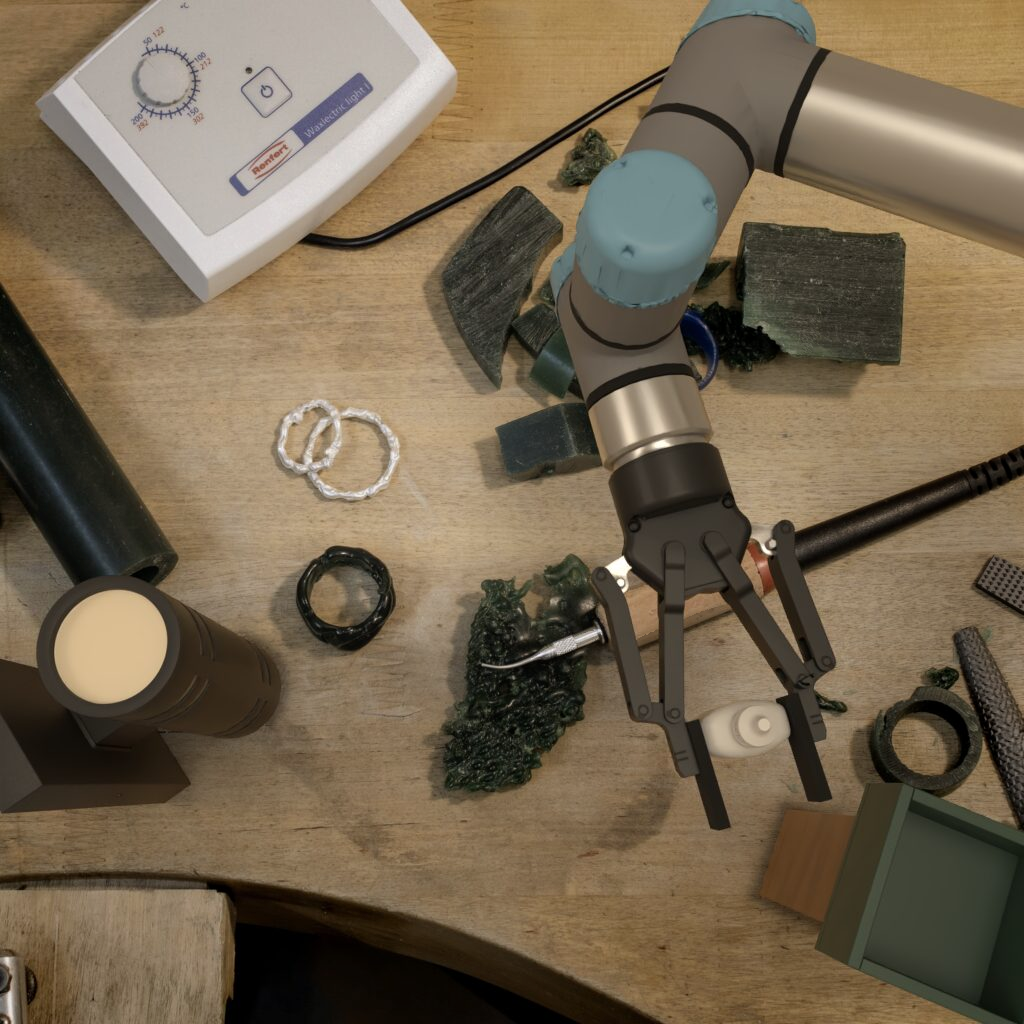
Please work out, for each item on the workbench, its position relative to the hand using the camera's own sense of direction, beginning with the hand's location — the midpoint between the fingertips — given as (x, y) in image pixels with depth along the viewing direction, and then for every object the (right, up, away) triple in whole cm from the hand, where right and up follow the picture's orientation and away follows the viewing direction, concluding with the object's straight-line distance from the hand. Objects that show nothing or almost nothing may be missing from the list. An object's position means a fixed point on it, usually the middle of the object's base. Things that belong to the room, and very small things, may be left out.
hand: (770, 813), depth 64 cm
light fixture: (-44, 0, +35) cm, 56 cm away
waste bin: (+12, -8, +7) cm, 16 cm away
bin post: (+12, -14, +32) cm, 37 cm away
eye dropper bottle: (-1, +3, +8) cm, 9 cm away
